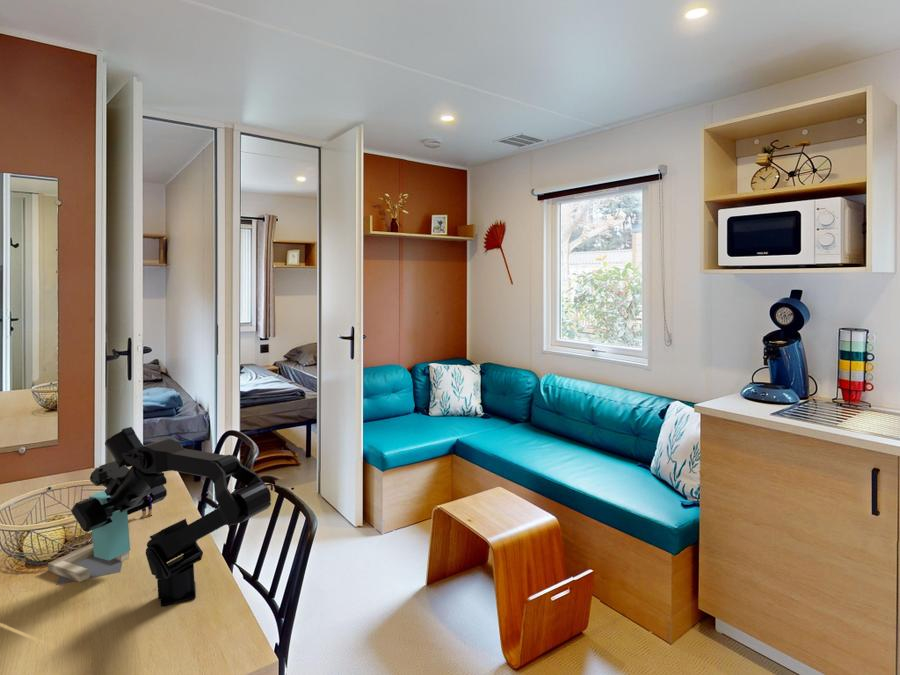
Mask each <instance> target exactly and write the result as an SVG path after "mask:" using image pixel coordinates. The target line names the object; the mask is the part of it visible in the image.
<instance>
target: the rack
mask: <svg viewBox="0 0 900 675" xmlns="http://www.w3.org/2000/svg"><path fill="white" fill-rule="evenodd" d="M92 555H94V551H93V542H92V543H89V544H88V545H85V546H83V547H81V548H78V549H77V550H74V551H72V552H70V553H68V554H66V555H63V556H61V557H59V558H56V559H54V560H52V561H50V562H48V563H47V565H48V566H47V567H48V572H49V573H52V574H54V575H57V576H63V577H66V578H69V579H72V580H75V581H74V582H78V583H82V582H84V581H86V580H89V579H90V578H89V569H87V568H83V567H80V566H77V565H74V564H75V563H78V562H80V561H82V560H84V559H86V558H88V557H90V556H92ZM114 559H115V560H118V561H121V562H122V561H125V560H127V559H128V560H129V559H130V551H128V552H126V553H124V554H122V555H120V556H118V557H116V558H114ZM122 563H123V562H122Z"/></svg>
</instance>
